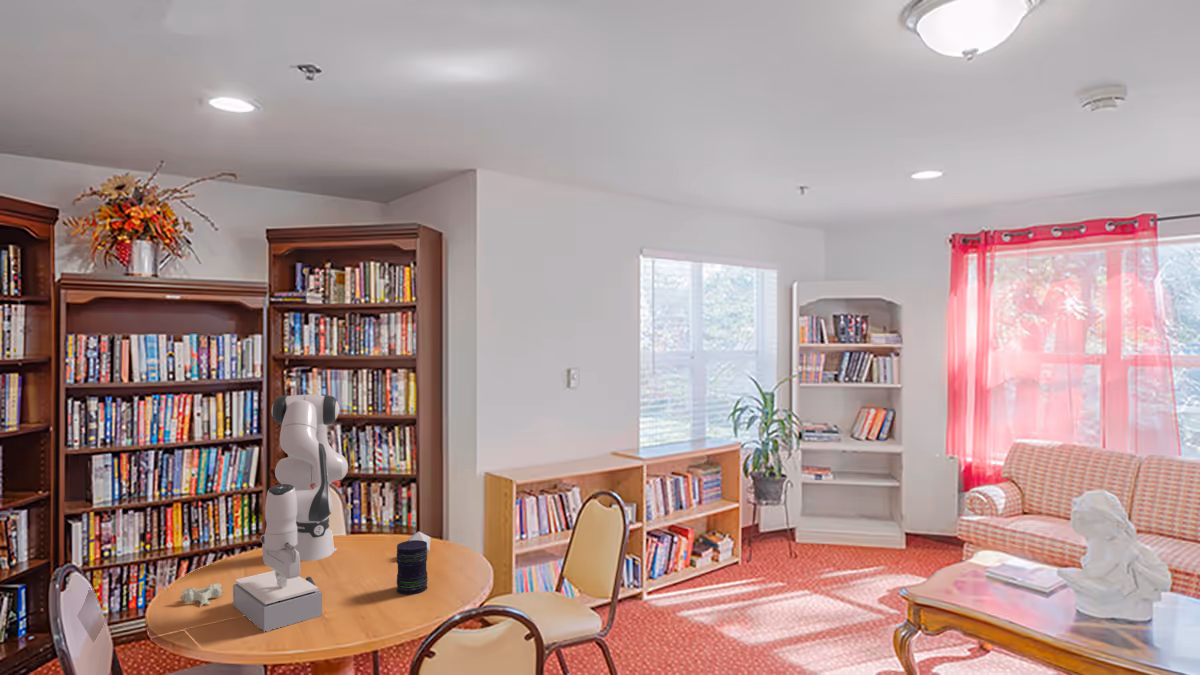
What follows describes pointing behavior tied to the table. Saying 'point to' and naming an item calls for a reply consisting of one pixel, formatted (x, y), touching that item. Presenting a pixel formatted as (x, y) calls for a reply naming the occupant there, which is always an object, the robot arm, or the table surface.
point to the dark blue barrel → (412, 567)
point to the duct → (277, 609)
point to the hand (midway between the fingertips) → (281, 585)
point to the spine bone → (201, 594)
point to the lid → (274, 587)
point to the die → (421, 539)
